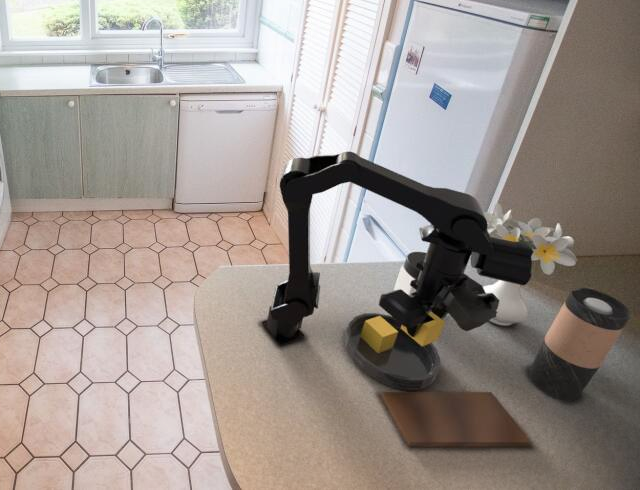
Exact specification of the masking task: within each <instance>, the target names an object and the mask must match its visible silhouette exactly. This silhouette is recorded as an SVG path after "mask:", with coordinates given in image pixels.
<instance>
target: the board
mask: <svg viewBox="0 0 640 490" xmlns="http://www.w3.org/2000/svg"><path fill="white" fill-rule="evenodd" d="M380 400H381V401H382V403H383V404H384V406H385V408H386V410H387V411H388V413H389V415H390V417H391V419H392V421H393V423H394V424H395V426H396V428H397V429H398V431H399V433H400V435H401V437H402V438H403V441H404V442H405V444H406V446H407V447H408V448H409V447H410V448H412V447H413V448H414V447H415V448H416V447H417V448H419V447H420V448H424V447H425V448H426V447H427V448H430V447H432V448H435V447H437V448H442V447H444V448H445V447H448V448H450V447H461V448H463V447H467V448H469V447H470V448H471V447H476V448H478V447H482V448H483V447H486V448H487V447H491V448H492V447H496V448H497V447H506V448H507V447H530V445H531V443H532V441H531V440H530V438H529V437H528V436H527V435H526V433H525V432H524V431H523V429H522V428H521V427H520V426H519V424H517V422H516V421H515V420H514V419H513V417H512V416H511V414H510V413H509V412H508V411H507V409H506V408H505V407H504V406H503V405H502V403H501V402H500V401H499V400H498V398H497V397H496V396H495V395H494V394H493V393H492V391H421V392H420V391H391V392H390V391H383V392H381V394H380Z"/></svg>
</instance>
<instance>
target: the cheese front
mask: <svg viewBox="0 0 640 490" xmlns="http://www.w3.org/2000/svg"><path fill="white" fill-rule="evenodd" d="M429 315H430V316H431V317H432V318H433V319H435V320H433V321H430V322H427V323H425V324H422V326H421V328H420V329H419V331H418V333H417V334H416V335H415V337H412V336H410V335H409V334H408V332H407V329H406V327H405V326H403V325H402V326H401V329H402V330H403V331H404V332H406V333H407V334H408V335H409V336H410V337H411V338H413V339H414V340H415V341H416V342H417V343H419V344H420V345H421V346H425V345H427V344H430V343H432V344H433V343H435V342H437V341H439V339H440V336H441V333H442V332H443V329H444V326H445V324H446V321H444V319H440V318H439V317H438V316H437V315H435V314H434V313H433V312H429Z"/></svg>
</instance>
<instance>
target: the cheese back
mask: <svg viewBox="0 0 640 490" xmlns="http://www.w3.org/2000/svg"><path fill="white" fill-rule="evenodd" d="M397 334H398V331H397V330H396V329H395V328H393V327H392V326H391V325H390V324H389V323H388V322H387V321H385V320H384V319H383V318H382V317H381V316H378V317H375V318H372V319H369V320H366V321H365V323H364V326H363V330H362V333H361V336H360V337H361V338H362V339H363V340H364V341H365V342H367V343H368V344H369V345H370V346H371V347H372V348H373V349H374V350H375V351H376V352H377V353H380V352H383V351H385V350H388V349H391V348H393V346H394V343H395V340H396V337H397Z"/></svg>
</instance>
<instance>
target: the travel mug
mask: <svg viewBox="0 0 640 490" xmlns="http://www.w3.org/2000/svg"><path fill="white" fill-rule="evenodd" d="M630 318H631V311H630V309H629V308H628V307H627V306H626V305H625V304H624V303H623V302H621V301H620V300H619V299H616V298H615V297H613V296H612V295H609V294H607V293H605V292H602V291H599V290H596V289H592V288H588V287H580V288H579V289H576V290H575V289H574V290H572V289H571V290H569V294H568V295H567V297H566V299H565V300H564V302H563V304H562V306H561V308H560V309H559V311H558V313H557V315H556V316H555V318H554V321H553V322H552V324H551V326H550V328H549V329H548V331H547V333H546V335H545V337H544V338H543V341H542V343H541V344H540V347H539V349H538V351H537V353H536V356H535V358H534V360H533V362H532V364H531V366H530V368H529V371H528V373H529V378H530V379H531V381H532V382H533V384H535V386H536V387H538V388H539V389H540V390H542V391H543V392H544V393H546V394H548V395H550V396H552V397H554V398H557V399H559V400H563V401H574V400H577V399H578V398H579V396H580V395H581V394H582V392H583V391H584V390H585V389H586V387H587V386H588V384H589V383H590V381H591V380H592V378H593V377H594V375H595V374H596V373H597V371H598V370H599V369H600V367H601V366H602V365H603V363H604V361H605V359H606V358H607V356H608V354H609V352H610V351H611V349H612V347H614V344H615V343H616V341H617V340H618V338H619V336H620V334H621V333H622V331H623V330H624V328H625V327H626V325H627V323H628V321H629V320H630Z"/></svg>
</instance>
